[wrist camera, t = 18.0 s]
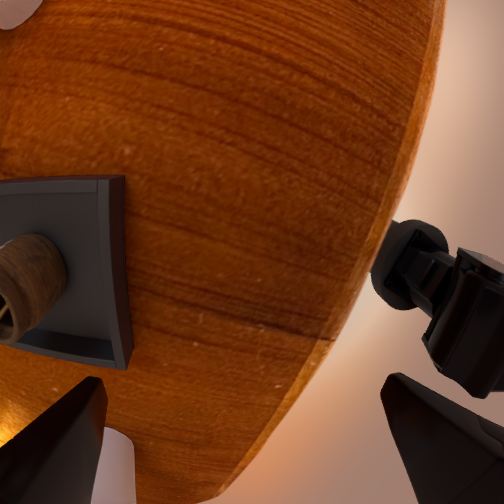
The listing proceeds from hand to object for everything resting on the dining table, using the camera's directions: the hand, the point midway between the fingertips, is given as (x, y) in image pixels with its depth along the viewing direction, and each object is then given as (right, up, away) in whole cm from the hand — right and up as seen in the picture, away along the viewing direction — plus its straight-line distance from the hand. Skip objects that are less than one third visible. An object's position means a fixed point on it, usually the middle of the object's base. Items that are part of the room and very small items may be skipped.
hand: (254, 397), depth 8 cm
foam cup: (-17, -18, +18) cm, 31 cm away
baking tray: (-17, +3, +11) cm, 20 cm away
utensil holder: (-17, +3, +10) cm, 20 cm away
